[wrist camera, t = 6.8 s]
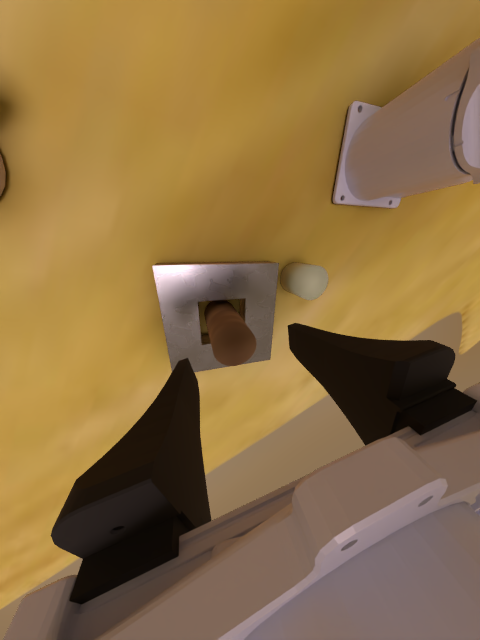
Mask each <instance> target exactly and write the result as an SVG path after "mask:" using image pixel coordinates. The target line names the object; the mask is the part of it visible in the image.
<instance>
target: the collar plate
mask: <svg viewBox="0 0 480 640" xmlns="http://www.w3.org/2000/svg"><path fill="white" fill-rule="evenodd" d="M278 266H279V263H276V262H270V261H254V262H195V263H156V264H155V265H153V271H154V277H155V282H156V287H157V293H158V298H159V304H160V309H161V314H162V320H163V325H164V331H165V336H166V341H167V347H168V352H169V358H170V363H171V368H172V372H173V370H174V368H175V366H176V364H177V363H178V361H179V360H183V359H186V358H188V359H189V361H190V364H191V366H192V369H193V371H194V372H199V371H205V370H211V369H217V368H223V367H229V366H227V365H223V364H221V363H220V362H218V361H217V360H216V358H215V357H214V354H213V350H212V346H211V341H210V337H209V334H203V335H201V332H200V322H199V311H198V302H199V301H213V300H228V299H240V316H241V318H242V319H243V321H244V322H245V323H246V325H247V326H248V327H249V329H250V330H251V331H252V333H253V334H254V336H255V338H256V349H255V352H254V354H253V355H252V356H251V358H250V359H248V360H247V361H246V362H244V363H242V364H247V363H252V362H258V361H264V360H270V357H271V345H272V334H273V323H274V311H275V300H276V289H277V277H278ZM240 365H241V364H240Z"/></svg>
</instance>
